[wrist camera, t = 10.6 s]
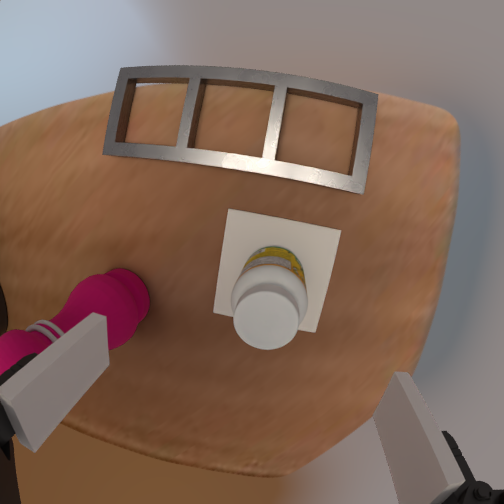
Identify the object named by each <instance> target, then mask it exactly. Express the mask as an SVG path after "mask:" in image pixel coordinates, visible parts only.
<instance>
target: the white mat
mask: <svg viewBox="0 0 504 504" xmlns="http://www.w3.org/2000/svg"><path fill="white" fill-rule="evenodd" d="M340 234H341V230H339V229H334V228H329V227H324V226H320V225H315V224H310V223H305V222H300V221H295V220H290V219H285V218H280V217H274V216H269V215H264V214H258V213H253V212H248V211H242V210H236V209H231V208H229V209H228V215H227V221H226V228H225V234H224V241H223V247H222V254H221V260H220V267H219V274H218V281H217V288H216V295H215V302H214V309H213V313H218V314H222V315H226V316H231V317H233V316H234V315H233V312H232V308H231V293H232V290H233V287H234V285H235V283H236V281H237V279H238V277H239V275H240V273H241V271H242V269H243V267H244V265H245V263H246V261H247V260H248V258H249V257H250V256H251V255H252V254H253V253H254V252H255V251H256V250H258V249H260V248H262V247H266V246H272V245H275V246H281V247H285V248H287V249H289V250H290V251H292V252H293V253H294V254H295V255H296V256H297V258H298V259H299V261H300V262H301V264H302V267H303V270H304V276H305V283H306V290H307V296H308V307H307V312H306V315H305V317H304V319H303V321H302V322H301V324H300V325H299V327H298V330H302V331H308V332H314V333H315V332H316V328H317V325H318V321H319V318H320V314H321V311H322V307H323V303H324V300H325V296H326V292H327V288H328V284H329V280H330V277H331V273H332V269H333V264H334V260H335V256H336V252H337V248H338V243H339V239H340Z"/></svg>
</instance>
